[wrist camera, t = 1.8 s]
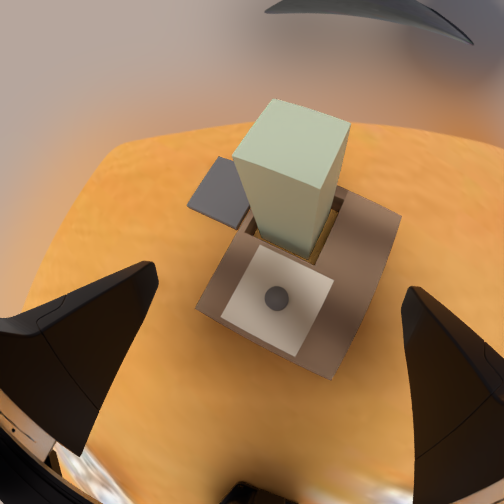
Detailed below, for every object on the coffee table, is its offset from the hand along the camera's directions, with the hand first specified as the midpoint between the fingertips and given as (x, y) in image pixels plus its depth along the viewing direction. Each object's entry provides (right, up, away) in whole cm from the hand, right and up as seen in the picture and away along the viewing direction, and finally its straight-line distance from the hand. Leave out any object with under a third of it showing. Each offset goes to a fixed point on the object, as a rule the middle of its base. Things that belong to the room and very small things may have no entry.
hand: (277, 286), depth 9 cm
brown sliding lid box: (+4, 0, +13) cm, 14 cm away
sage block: (+3, +3, +15) cm, 15 cm away
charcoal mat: (-3, +7, +16) cm, 18 cm away
